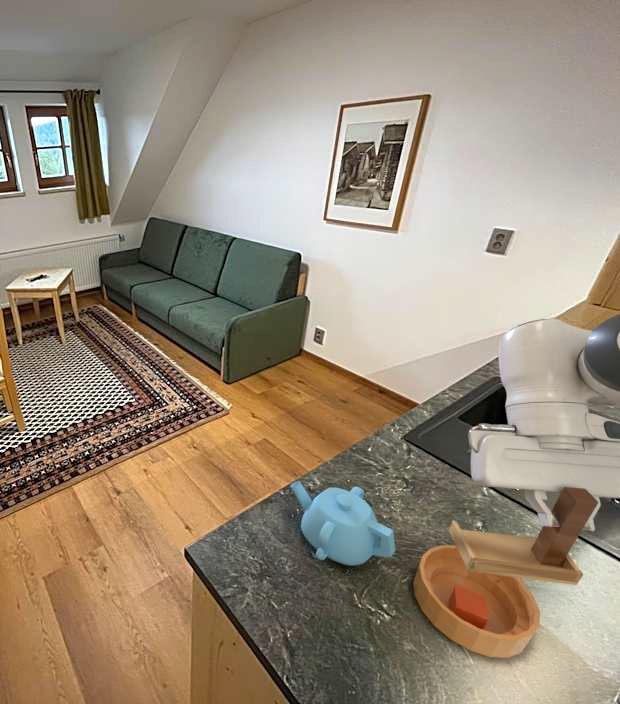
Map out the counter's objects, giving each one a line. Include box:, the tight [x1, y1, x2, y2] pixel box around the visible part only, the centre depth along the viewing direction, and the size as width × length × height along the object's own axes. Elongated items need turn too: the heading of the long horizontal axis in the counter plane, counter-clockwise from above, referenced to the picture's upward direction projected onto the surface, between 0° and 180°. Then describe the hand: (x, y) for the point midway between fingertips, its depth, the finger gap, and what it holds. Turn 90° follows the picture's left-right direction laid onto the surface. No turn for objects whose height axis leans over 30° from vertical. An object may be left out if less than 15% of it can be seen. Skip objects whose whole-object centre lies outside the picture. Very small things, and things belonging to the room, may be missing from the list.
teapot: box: [290, 481, 396, 567], centre depth 77 cm, size 20×17×12 cm
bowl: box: [412, 544, 541, 659], centre depth 65 cm, size 15×15×6 cm
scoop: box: [448, 487, 599, 586], centre depth 57 cm, size 7×13×14 cm, turn 77°
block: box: [449, 585, 488, 630], centre depth 64 cm, size 4×4×4 cm
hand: (567, 528), depth 55 cm, fingers closed on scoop, 2 cm apart
